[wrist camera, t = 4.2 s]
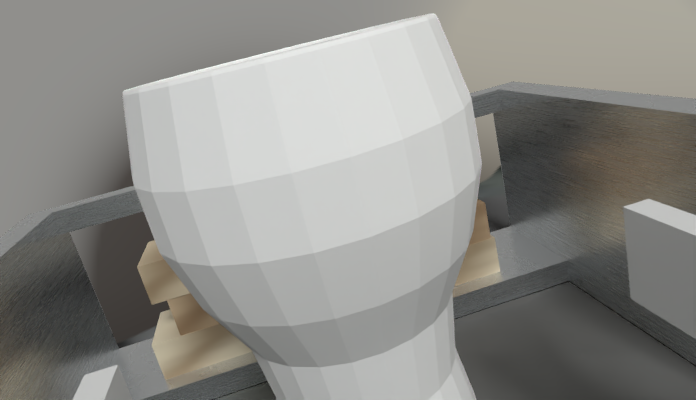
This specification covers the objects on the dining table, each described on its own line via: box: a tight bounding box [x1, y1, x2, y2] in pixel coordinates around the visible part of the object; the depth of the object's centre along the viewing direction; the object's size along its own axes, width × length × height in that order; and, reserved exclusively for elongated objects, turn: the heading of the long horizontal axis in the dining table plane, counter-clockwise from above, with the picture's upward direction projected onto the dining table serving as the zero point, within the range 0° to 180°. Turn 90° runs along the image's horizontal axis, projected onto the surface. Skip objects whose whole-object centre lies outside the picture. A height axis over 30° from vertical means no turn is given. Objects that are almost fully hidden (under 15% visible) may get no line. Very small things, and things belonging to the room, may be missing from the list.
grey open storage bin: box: [0, 82, 696, 400], centre depth 23 cm, size 28×18×10 cm, turn 102°
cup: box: [122, 13, 482, 400], centre depth 19 cm, size 11×11×15 cm
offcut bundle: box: [137, 199, 500, 380], centre depth 28 cm, size 18×4×6 cm, turn 102°
